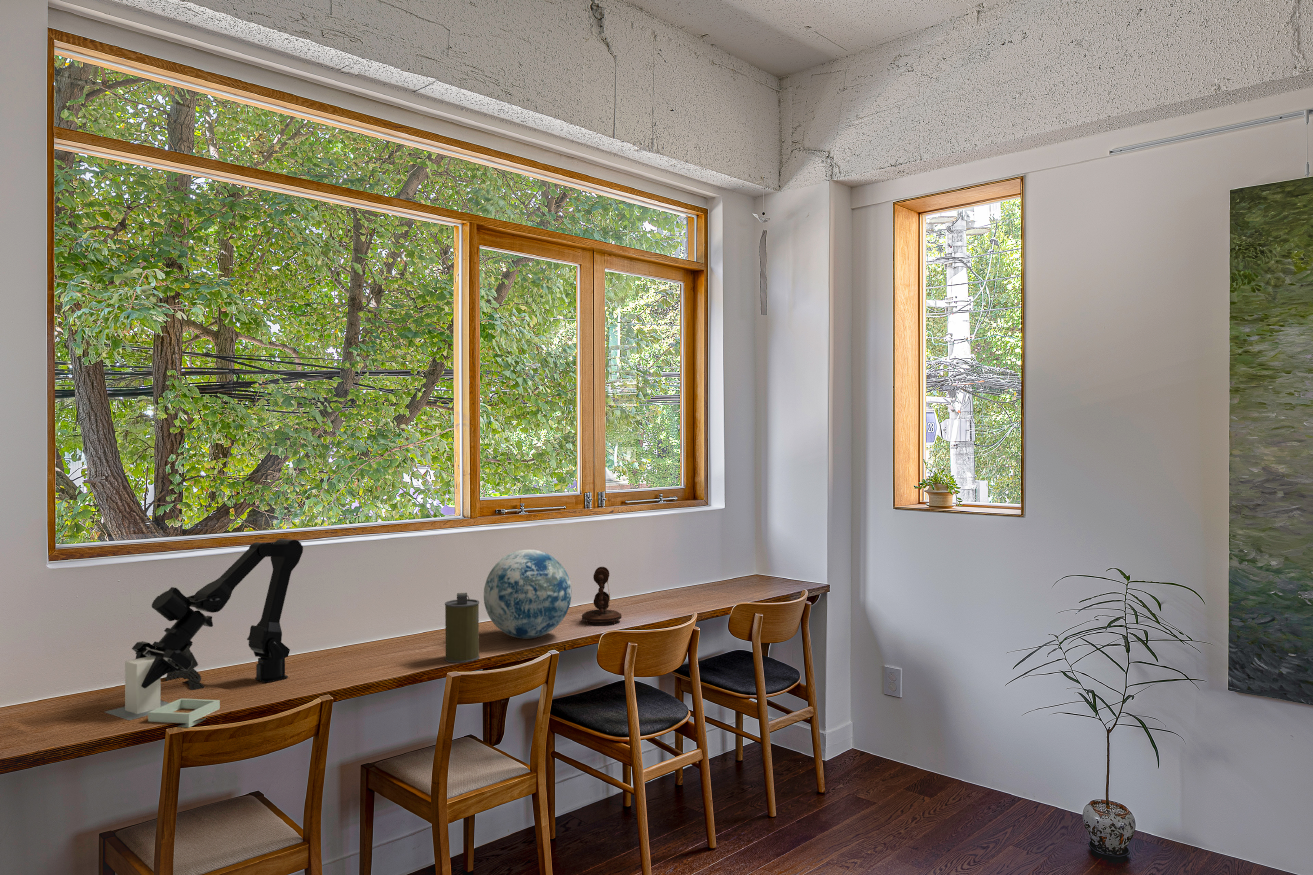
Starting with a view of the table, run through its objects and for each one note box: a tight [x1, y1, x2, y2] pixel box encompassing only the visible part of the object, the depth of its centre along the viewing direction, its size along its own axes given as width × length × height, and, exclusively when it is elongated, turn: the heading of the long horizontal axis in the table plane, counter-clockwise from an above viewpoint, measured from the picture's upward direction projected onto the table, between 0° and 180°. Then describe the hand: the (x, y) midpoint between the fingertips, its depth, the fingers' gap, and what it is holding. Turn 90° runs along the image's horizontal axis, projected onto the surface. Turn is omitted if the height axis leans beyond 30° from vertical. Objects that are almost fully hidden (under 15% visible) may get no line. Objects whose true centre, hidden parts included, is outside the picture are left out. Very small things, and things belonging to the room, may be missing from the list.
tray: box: [147, 698, 221, 729], centre depth 196 cm, size 11×11×3 cm
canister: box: [444, 592, 480, 664], centre depth 251 cm, size 11×10×20 cm
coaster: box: [104, 699, 170, 721], centre depth 201 cm, size 12×12×1 cm
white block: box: [124, 656, 161, 714], centre depth 201 cm, size 6×6×12 cm
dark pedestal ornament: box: [581, 566, 622, 625], centre depth 303 cm, size 15×15×20 cm
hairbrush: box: [165, 668, 205, 691], centre depth 225 cm, size 8×4×25 cm
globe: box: [483, 549, 573, 640], centre depth 278 cm, size 30×30×30 cm
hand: (136, 685), depth 200 cm, fingers closed on white block, 5 cm apart
